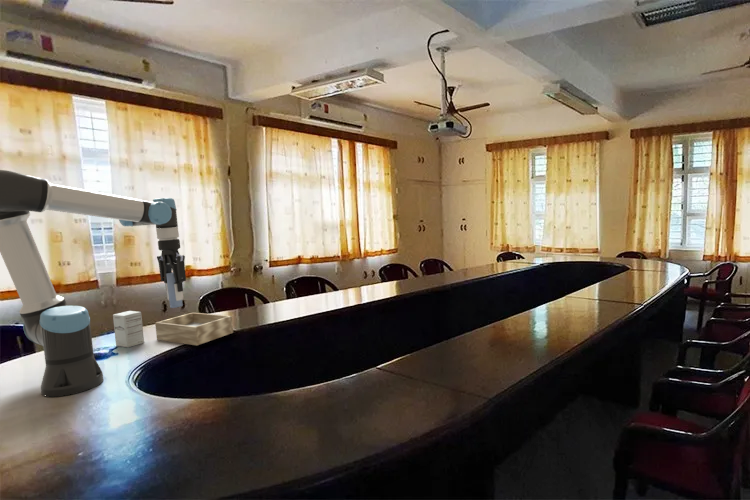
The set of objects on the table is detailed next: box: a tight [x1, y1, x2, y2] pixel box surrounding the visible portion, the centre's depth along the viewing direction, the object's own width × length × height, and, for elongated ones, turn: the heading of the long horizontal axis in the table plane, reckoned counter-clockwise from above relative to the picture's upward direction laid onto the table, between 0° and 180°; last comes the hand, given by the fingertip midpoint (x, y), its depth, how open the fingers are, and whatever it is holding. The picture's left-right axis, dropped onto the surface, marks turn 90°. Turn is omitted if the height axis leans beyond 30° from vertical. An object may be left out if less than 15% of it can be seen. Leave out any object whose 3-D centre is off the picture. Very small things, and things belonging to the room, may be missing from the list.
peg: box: [166, 271, 184, 309], centre depth 166 cm, size 4×4×13 cm
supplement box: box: [112, 310, 145, 348], centre depth 171 cm, size 7×7×13 cm
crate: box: [154, 312, 234, 346], centre depth 177 cm, size 18×24×7 cm
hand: (175, 299), depth 166 cm, fingers closed on peg, 4 cm apart
